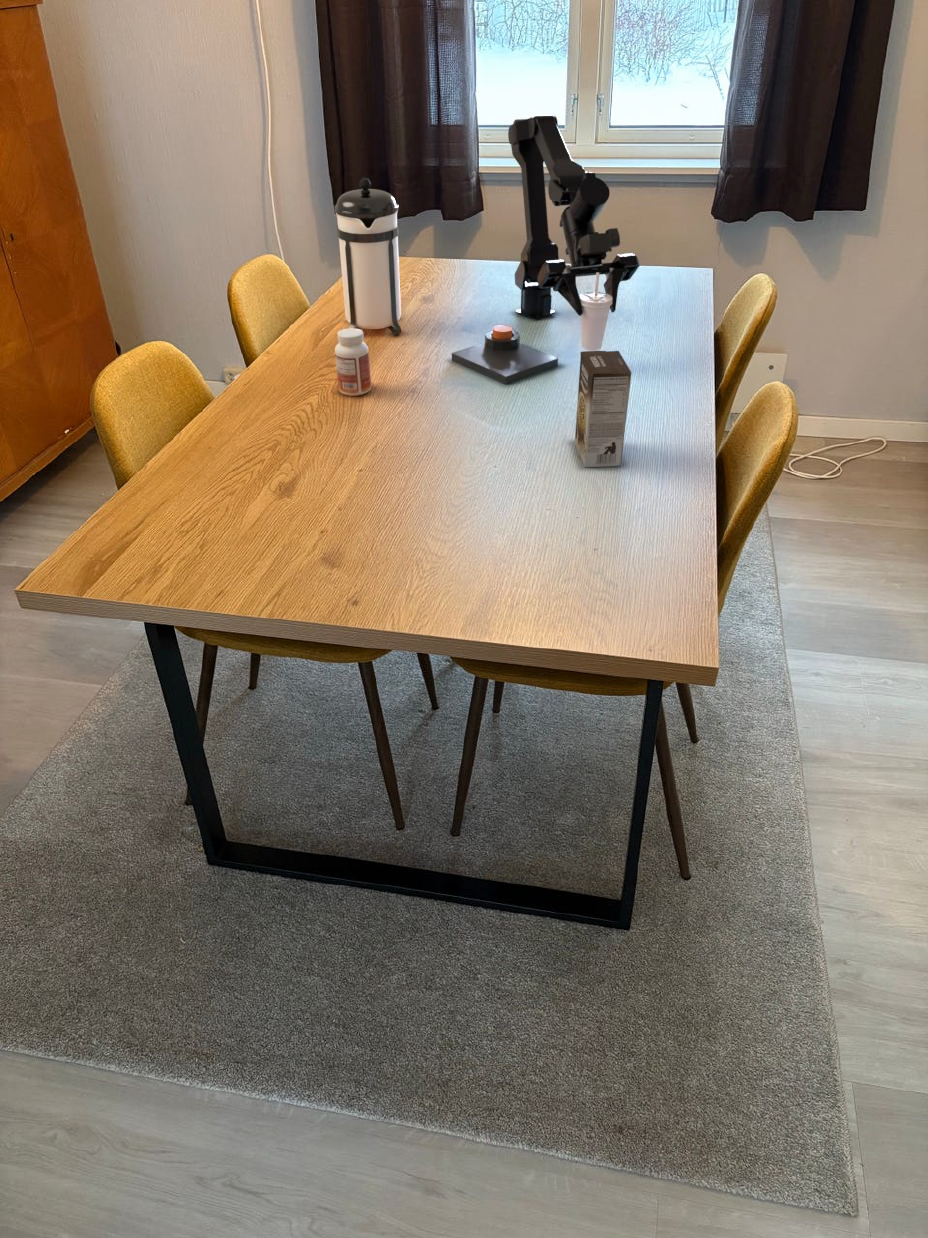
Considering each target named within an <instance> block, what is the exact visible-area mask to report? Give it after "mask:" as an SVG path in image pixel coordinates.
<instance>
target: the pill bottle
mask: <svg viewBox="0 0 928 1238" xmlns="http://www.w3.org/2000/svg"><path fill="white" fill-rule="evenodd" d="M364 339H365V337H364V331H363V329H356V328H355V327H354V328H349V327H348V328H347V327H346V328H342V329H340V330H338V332H337V344H336V345H335V347H334V356H335V366H336V367H335V368H336V377H337V387H338V392H339V393H341V394H343V395H344V396H348V397H349V396H350V397H357V396H362V395H365V394H367V393H369V392H370V391H371V389H372V377H371V367H370V365H371V364H370V352H369V351H370V350H369V346H368V344H366V343H365V341H364Z"/></svg>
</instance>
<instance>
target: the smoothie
mask: <svg viewBox="0 0 928 1238" xmlns="http://www.w3.org/2000/svg"><path fill="white" fill-rule="evenodd" d="M599 280H600V275H599V272H597V273H596V275H595V285H594V291H587V292H583V293H581V294H580V295H579V298H580V301H581V305H582V312H583V314H582V315H581V316H580V329H581V331H580V332H581V334H580V335H581V348H582V349H584V350H585V351H600V350H601V349H602V345H603V340H604V336H605V331H606V327H607V323H608V318H609V313H610V305H612V303H613V302H612V299H613V298H612V296H611V295H609V294H606V292H602V291H599V283H600V281H599Z"/></svg>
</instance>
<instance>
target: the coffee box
mask: <svg viewBox="0 0 928 1238" xmlns="http://www.w3.org/2000/svg"><path fill="white" fill-rule="evenodd" d="M578 375H579V376H578V391H577V404H576V405H577V406H576V416H575V434H574V436H575V437H574V444H575V447H576V449H577V452H578V455H579V457H580V459H581V462H582V465H583V467H584V468H601V467H621V465H622V459H623V450H624V440H625V433H626V424H627V416H628V409H629V400H630V399H629V398H630V392H631V391H630V390H631V381H632V371H631V370H630V367H629V366H628V364H627V362H626V360H625V359H624V356H622V353H621V352H620V351H619V350H609V351H608V350H595V351H590V350H585V351H580V360H579V373H578Z"/></svg>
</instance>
